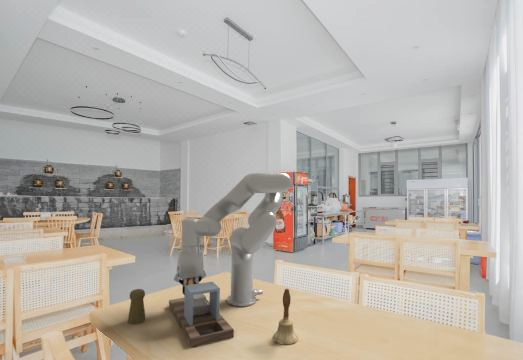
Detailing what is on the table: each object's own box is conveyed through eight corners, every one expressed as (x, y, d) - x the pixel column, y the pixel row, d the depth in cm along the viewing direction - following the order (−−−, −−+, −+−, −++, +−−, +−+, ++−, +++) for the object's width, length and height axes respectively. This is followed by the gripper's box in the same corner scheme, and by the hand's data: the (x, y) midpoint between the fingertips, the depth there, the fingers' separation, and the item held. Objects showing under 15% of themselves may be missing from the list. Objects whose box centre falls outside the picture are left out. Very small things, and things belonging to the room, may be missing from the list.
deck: (233, 337, 97) (233, 329, 97) (191, 347, 90) (191, 339, 90) (202, 300, 127) (202, 294, 127) (168, 306, 121) (169, 300, 121)
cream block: (201, 308, 113) (202, 292, 113) (205, 313, 108) (206, 297, 109) (188, 310, 111) (189, 294, 111) (192, 316, 106) (192, 299, 106)
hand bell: (291, 330, 102) (292, 284, 102) (302, 342, 94) (303, 292, 94) (269, 334, 99) (269, 286, 100) (278, 346, 91) (279, 294, 92)
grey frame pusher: (209, 312, 109) (209, 286, 109) (189, 316, 105) (190, 289, 105) (197, 298, 122) (198, 275, 122) (179, 301, 118) (180, 277, 119)
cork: (139, 325, 104) (139, 293, 104) (123, 323, 105) (124, 292, 106) (148, 317, 110) (149, 287, 110) (134, 316, 111) (135, 286, 111)
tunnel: (219, 319, 104) (219, 288, 104) (189, 325, 99) (190, 292, 99) (211, 311, 111) (212, 281, 111) (184, 316, 106) (184, 285, 106)
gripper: (207, 245, 127) (206, 288, 126) (168, 248, 119) (167, 294, 118) (213, 248, 120) (212, 294, 120) (172, 252, 112) (171, 301, 112)
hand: (189, 294), depth 119 cm, fingers closed on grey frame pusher, 3 cm apart
